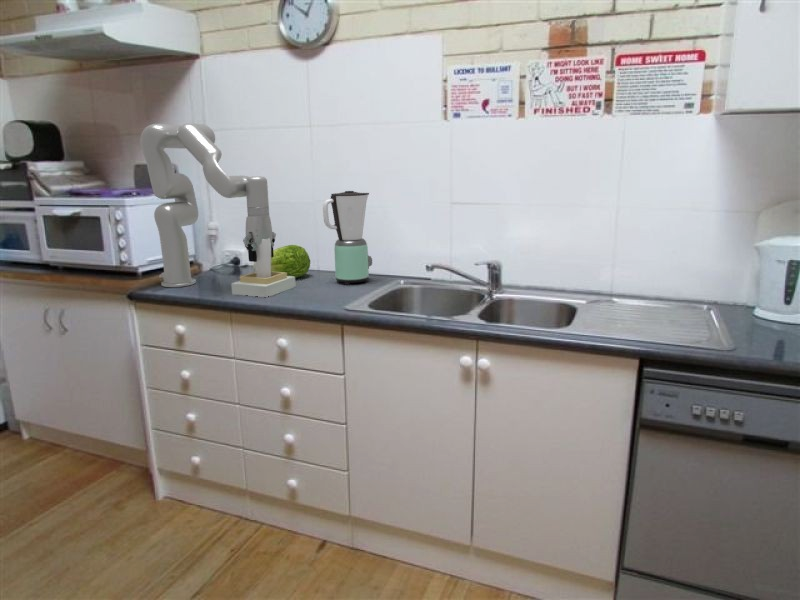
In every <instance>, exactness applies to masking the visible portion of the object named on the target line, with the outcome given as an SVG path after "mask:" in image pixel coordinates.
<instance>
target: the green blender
mask: <svg viewBox="0 0 800 600" xmlns="http://www.w3.org/2000/svg"><path fill="white" fill-rule="evenodd" d="M369 195H370V192H357V191H354V190H346V191H345V190H344V191H343V192H339V193H337V192H336V193H331V195H330V198H328V199H325V200H324V201H323V204H322V212H323V213H322V216H323V221H324V224H325V225H324V226H326V227H327V228H328V229H330V230H336V234H337V238H338V239H336V240H335V243H334V270H335V271H334V273H335V274H334V275H335V280H336V282H339V283H344V285H345V286H350V284H352V283H353V284H354V283H365V284H367V283H368V279H369V277H370V276H369V275H370V274H369V272H370V271H369V269H370V267H371V266H373V258H372V256H371V255H369V250H368V243H367V240H366V239H365V238H363V233H364V226H365V225H364V224H365V216H366V208H367V202H368V201H367V200H368V197H369ZM329 204H331V209H332V214H333V221H334V224H333V225H332V224H331V223H330V219H329Z"/></svg>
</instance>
